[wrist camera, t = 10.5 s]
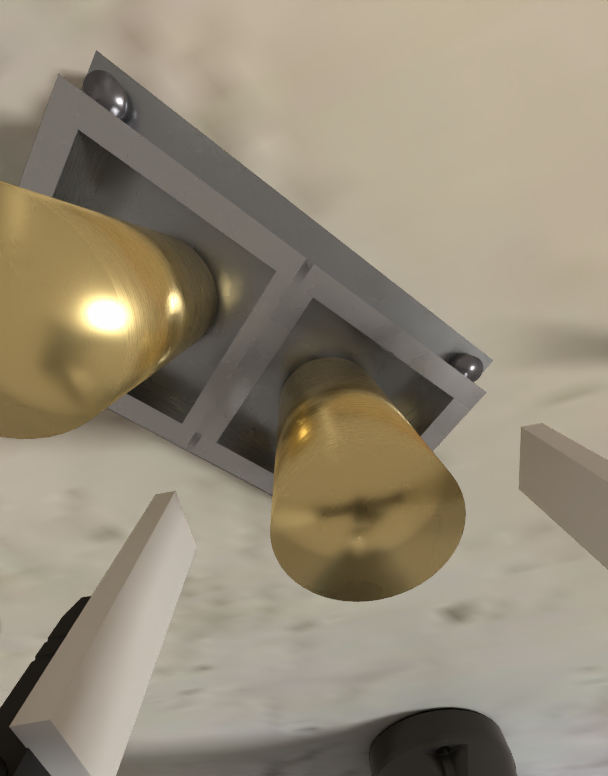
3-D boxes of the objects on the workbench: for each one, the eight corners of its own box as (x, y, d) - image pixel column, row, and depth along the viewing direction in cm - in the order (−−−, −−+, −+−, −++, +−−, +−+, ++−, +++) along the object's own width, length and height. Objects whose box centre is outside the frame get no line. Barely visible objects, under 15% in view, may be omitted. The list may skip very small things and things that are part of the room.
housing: (336, 511, 24) (377, 716, 13) (15, 337, 19) (-385, 428, 8) (474, 352, 21) (698, 448, 9) (120, 78, 15) (-367, -484, 4)
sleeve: (339, 465, 21) (382, 624, 11) (259, 418, 19) (233, 555, 10) (398, 392, 19) (506, 505, 10) (316, 336, 18) (349, 404, 8)
